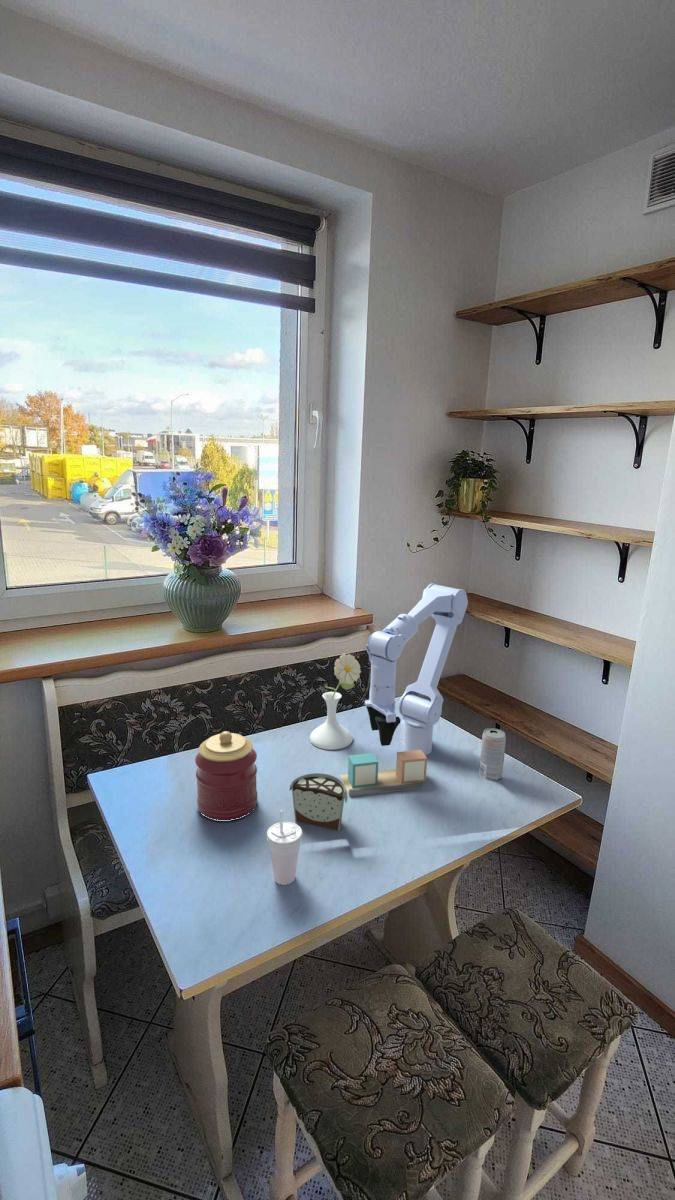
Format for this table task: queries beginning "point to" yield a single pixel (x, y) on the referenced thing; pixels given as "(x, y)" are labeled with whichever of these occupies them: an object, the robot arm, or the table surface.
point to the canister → (226, 776)
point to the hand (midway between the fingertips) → (380, 737)
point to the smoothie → (284, 849)
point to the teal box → (363, 770)
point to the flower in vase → (331, 731)
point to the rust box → (411, 766)
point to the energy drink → (492, 754)
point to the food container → (319, 800)
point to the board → (381, 784)
